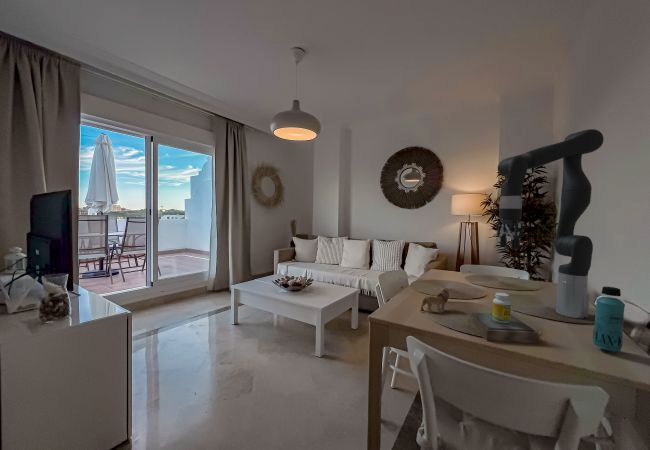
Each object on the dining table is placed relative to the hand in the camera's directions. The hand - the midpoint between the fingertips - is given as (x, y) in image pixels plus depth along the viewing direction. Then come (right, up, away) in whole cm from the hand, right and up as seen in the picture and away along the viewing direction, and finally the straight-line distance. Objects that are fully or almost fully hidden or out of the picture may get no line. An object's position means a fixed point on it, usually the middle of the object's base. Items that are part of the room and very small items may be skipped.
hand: (508, 247), depth 114 cm
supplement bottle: (-12, -25, -14) cm, 31 cm away
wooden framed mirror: (-12, -29, -13) cm, 34 cm away
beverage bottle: (+13, -30, -27) cm, 42 cm away
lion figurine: (-27, -28, +8) cm, 39 cm away
